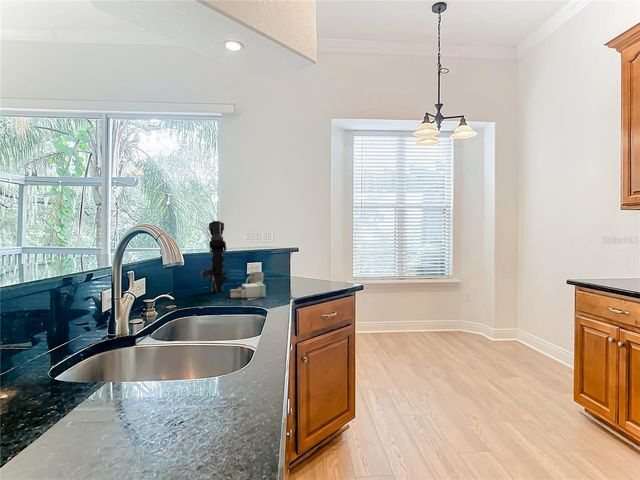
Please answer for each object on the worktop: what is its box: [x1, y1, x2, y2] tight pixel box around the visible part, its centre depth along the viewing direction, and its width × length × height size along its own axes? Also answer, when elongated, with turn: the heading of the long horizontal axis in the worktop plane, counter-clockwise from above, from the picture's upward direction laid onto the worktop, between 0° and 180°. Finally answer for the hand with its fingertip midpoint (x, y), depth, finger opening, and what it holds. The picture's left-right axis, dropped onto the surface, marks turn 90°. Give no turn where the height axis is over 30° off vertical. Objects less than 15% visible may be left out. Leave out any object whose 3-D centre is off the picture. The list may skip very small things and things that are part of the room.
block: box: [237, 283, 261, 299], centre depth 198 cm, size 10×10×6 cm
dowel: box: [229, 288, 243, 299], centre depth 196 cm, size 4×12×4 cm, turn 113°
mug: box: [245, 271, 264, 284], centre depth 215 cm, size 8×13×10 cm, turn 148°
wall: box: [256, 282, 267, 298], centre depth 201 cm, size 14×2×6 cm, turn 23°
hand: (217, 293), depth 192 cm, fingers closed
